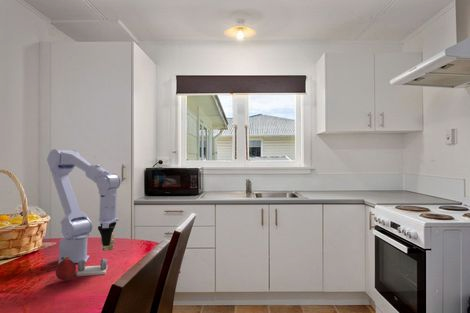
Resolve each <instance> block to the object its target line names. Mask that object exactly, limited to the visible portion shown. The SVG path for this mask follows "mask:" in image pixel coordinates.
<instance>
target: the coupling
mask: <svg viewBox="0 0 470 313" xmlns="http://www.w3.org/2000/svg"><path fill="white" fill-rule="evenodd" d="M115 239H116V238H115V232H114V231H113V232H112V235H111V241H110V245H109V246H103V243H102V238H101V240H100V244H101V250H102V251H112V250H114V244H115Z"/></svg>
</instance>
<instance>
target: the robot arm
mask: <svg viewBox="0 0 470 313" xmlns="http://www.w3.org/2000/svg"><path fill="white" fill-rule="evenodd" d="M46 161H47V163H48V167H49V171H50V173H51V176H52V180H53V182H54V185H55V189H56V191H57V195H58V197H59V200H60V203H61V207H62V210H63V213H64V217H63V218H62V219H61V220H60V225H61V234H62V237H61V239H60V240H59V247H58V263H57V265H58V264H59V263H60V262H61V261H62V260H63V259H64V258H65V257H67V256H68V257H69V260H71V261H73V262H74V264H78V262H79V261H81V259H83V260H85V263H87V261H88V260H89V258H90V255H88V237H89V236H90V233H92V230H93V222H92V220H91V219H89V216H88V214H87V213H85V212H83V211H81V208H80V206H79V203H78V200H77V198H76V194H75V192H74V189H73V186H72V183H71V180H70V177H69V174H70V173H71V172H73V170H74V169H75V167H76V168H78V169H80V170H82V171H83V172H84V173H85V176H86V177H87V178H88V179H89V180H90V181H92V182H93V183H95V184H96V186H97V189H98V194H99V217H98V218H99V219H98V222H99V223H100V224H99V225H98V226H97V230H98V232H99V235H100V237H101V239H102V243H103V246H109V245H110V241H111V235H112V232H114V229H115V228H116V225H117V221H120V218H119V217H117V196H118V195H117V193H118V191H117V190H118V189H119V187H120V186H121V178H120V176H119V175H118V174H117V173H110V171H109V170H106V169H104V168H103V167H101V166H102V165H100V164H98V163H97V164H96V163H95V164H94V163H93V164H91V163H90V162H89V161H88V160H86V159H85V158H84V157H82V155H81V154H80V152H78V151H77V150H75V149H72V150H71V149H56V148H55V149H54V148H53V149H51V150H50V151H49V153H48V156H47V158H46Z"/></svg>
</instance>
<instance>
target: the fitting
mask: <svg viewBox="0 0 470 313" xmlns="http://www.w3.org/2000/svg"><path fill="white" fill-rule="evenodd" d="M107 270H108V259H107V258H105V257H103V258H102V259H100V264H99V265H87V266H86V262H85V260H83V259H81V261H79V262H78V263H77V271H76V277H83V276H84V277H85V276H95V275H96V276H98V275H106V272H107Z"/></svg>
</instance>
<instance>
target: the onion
mask: <svg viewBox="0 0 470 313" xmlns="http://www.w3.org/2000/svg"><path fill="white" fill-rule="evenodd" d="M58 263H59V262H58ZM58 263H57V265H56V267H55V276H56V277H57V279H59V280H60V281H63V282H68V281H69V280H70V279H71V278H72V277H73V276H74V275H75V273H77V265H76V263H74V262H73V261H71V260H69V257H68V256H67V257H65V258H64V259H63V260H62V261H61V262H60V263H59V264H58Z"/></svg>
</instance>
